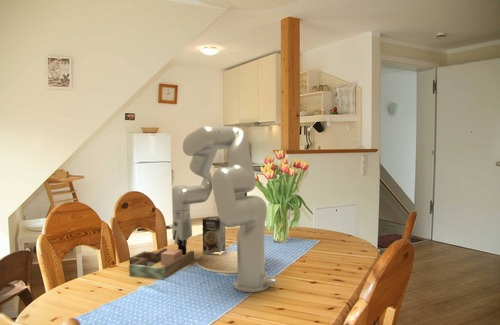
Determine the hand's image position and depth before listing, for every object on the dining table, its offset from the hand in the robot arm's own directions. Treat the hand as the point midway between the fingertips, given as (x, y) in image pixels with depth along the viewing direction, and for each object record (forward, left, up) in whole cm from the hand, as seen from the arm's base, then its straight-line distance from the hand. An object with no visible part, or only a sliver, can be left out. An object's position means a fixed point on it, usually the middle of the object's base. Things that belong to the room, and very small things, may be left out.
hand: (182, 254), depth 165 cm
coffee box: (-11, -10, -2) cm, 15 cm away
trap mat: (+9, +14, -1) cm, 17 cm away
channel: (+3, +15, -1) cm, 15 cm away
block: (0, +9, -2) cm, 9 cm away
